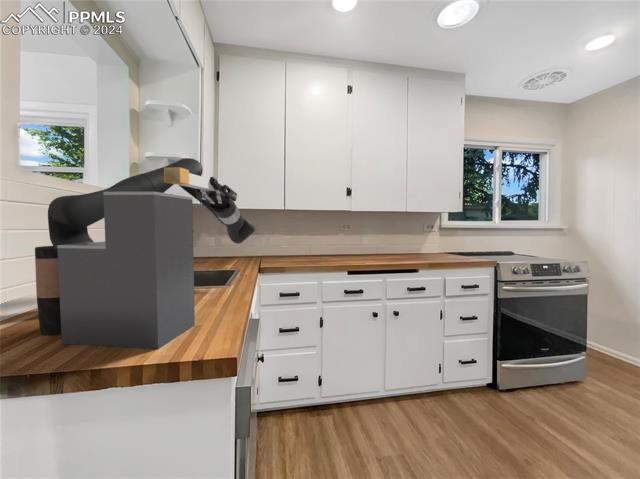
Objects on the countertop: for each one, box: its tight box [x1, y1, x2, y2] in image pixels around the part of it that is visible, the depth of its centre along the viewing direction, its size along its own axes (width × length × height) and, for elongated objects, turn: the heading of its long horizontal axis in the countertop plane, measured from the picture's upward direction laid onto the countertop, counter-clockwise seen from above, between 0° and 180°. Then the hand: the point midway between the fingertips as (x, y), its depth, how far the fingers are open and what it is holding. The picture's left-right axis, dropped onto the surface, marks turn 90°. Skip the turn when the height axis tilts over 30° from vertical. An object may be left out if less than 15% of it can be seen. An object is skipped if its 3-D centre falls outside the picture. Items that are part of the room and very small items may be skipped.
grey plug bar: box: [164, 167, 220, 191], centre depth 84 cm, size 4×22×4 cm, turn 174°
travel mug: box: [34, 245, 61, 336], centre depth 70 cm, size 8×8×20 cm
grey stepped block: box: [57, 192, 196, 350], centre depth 67 cm, size 22×14×32 cm, turn 84°
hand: (204, 179), depth 89 cm, fingers closed on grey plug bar, 3 cm apart
